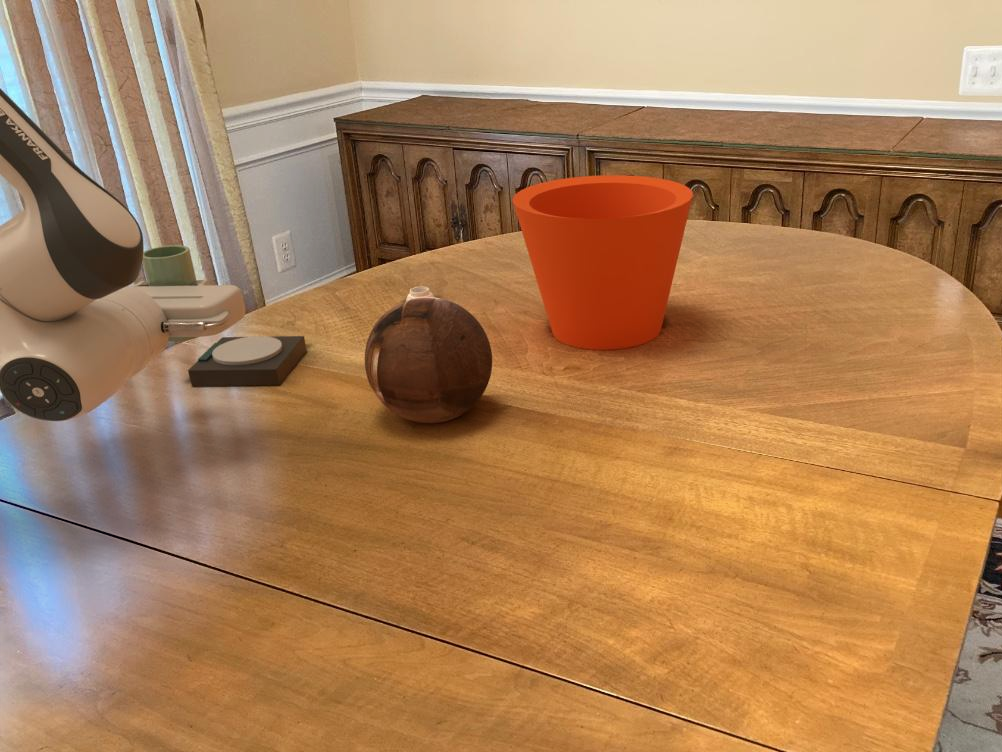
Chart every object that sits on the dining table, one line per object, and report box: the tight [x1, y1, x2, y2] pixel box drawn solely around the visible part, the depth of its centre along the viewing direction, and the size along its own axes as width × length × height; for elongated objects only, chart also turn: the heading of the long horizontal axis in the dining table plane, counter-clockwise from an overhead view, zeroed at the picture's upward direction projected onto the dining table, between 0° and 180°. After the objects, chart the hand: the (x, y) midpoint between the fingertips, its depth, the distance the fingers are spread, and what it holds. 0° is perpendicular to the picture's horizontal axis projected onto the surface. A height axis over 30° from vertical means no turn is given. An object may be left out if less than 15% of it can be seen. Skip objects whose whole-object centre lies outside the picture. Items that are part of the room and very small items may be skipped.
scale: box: [187, 335, 308, 387], centre depth 135 cm, size 12×12×3 cm
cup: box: [142, 244, 199, 343], centre depth 114 cm, size 5×5×10 cm
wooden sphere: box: [364, 296, 493, 424], centre depth 117 cm, size 15×15×15 cm
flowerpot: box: [512, 174, 694, 351], centre depth 140 cm, size 25×25×20 cm
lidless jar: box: [405, 286, 435, 301], centre depth 155 cm, size 5×3×5 cm
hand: (177, 286), depth 115 cm, fingers closed on cup, 5 cm apart
